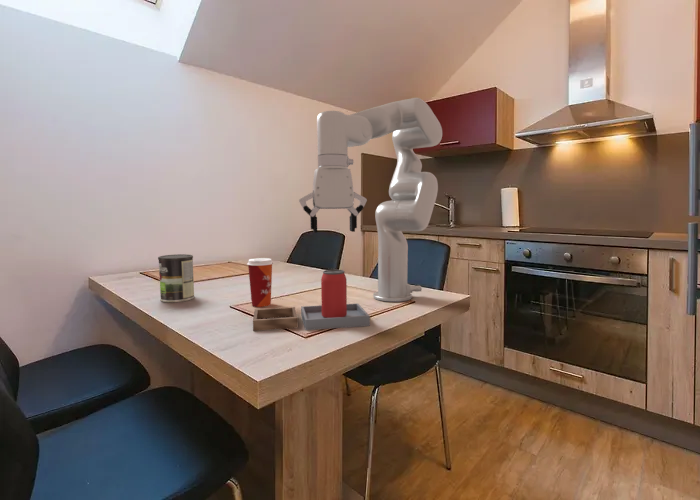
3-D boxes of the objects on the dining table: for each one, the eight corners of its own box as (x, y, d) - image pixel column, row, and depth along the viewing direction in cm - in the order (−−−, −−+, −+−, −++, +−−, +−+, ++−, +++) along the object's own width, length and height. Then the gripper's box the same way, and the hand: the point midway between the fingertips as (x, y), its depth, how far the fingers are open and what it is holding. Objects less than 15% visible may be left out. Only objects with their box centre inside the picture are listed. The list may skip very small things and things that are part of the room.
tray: (358, 312, 106) (358, 303, 106) (369, 325, 94) (369, 316, 93) (301, 315, 103) (301, 306, 103) (305, 330, 90) (305, 320, 90)
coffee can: (166, 304, 116) (163, 259, 114) (156, 298, 123) (153, 256, 122) (199, 298, 123) (197, 256, 121) (188, 293, 130) (186, 253, 129)
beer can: (317, 318, 96) (316, 272, 95) (328, 312, 102) (327, 268, 101) (340, 321, 94) (340, 273, 93) (350, 314, 100) (350, 269, 99)
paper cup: (271, 308, 111) (269, 261, 109) (245, 307, 111) (243, 261, 110) (276, 301, 119) (275, 257, 117) (252, 301, 119) (251, 257, 117)
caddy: (295, 315, 102) (294, 307, 102) (297, 327, 92) (297, 317, 92) (255, 318, 100) (254, 309, 100) (253, 330, 90) (252, 320, 90)
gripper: (362, 165, 99) (363, 230, 101) (297, 164, 96) (298, 231, 98) (370, 162, 92) (370, 231, 94) (299, 161, 89) (301, 233, 91)
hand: (333, 231), depth 96 cm, fingers open, 9 cm apart
